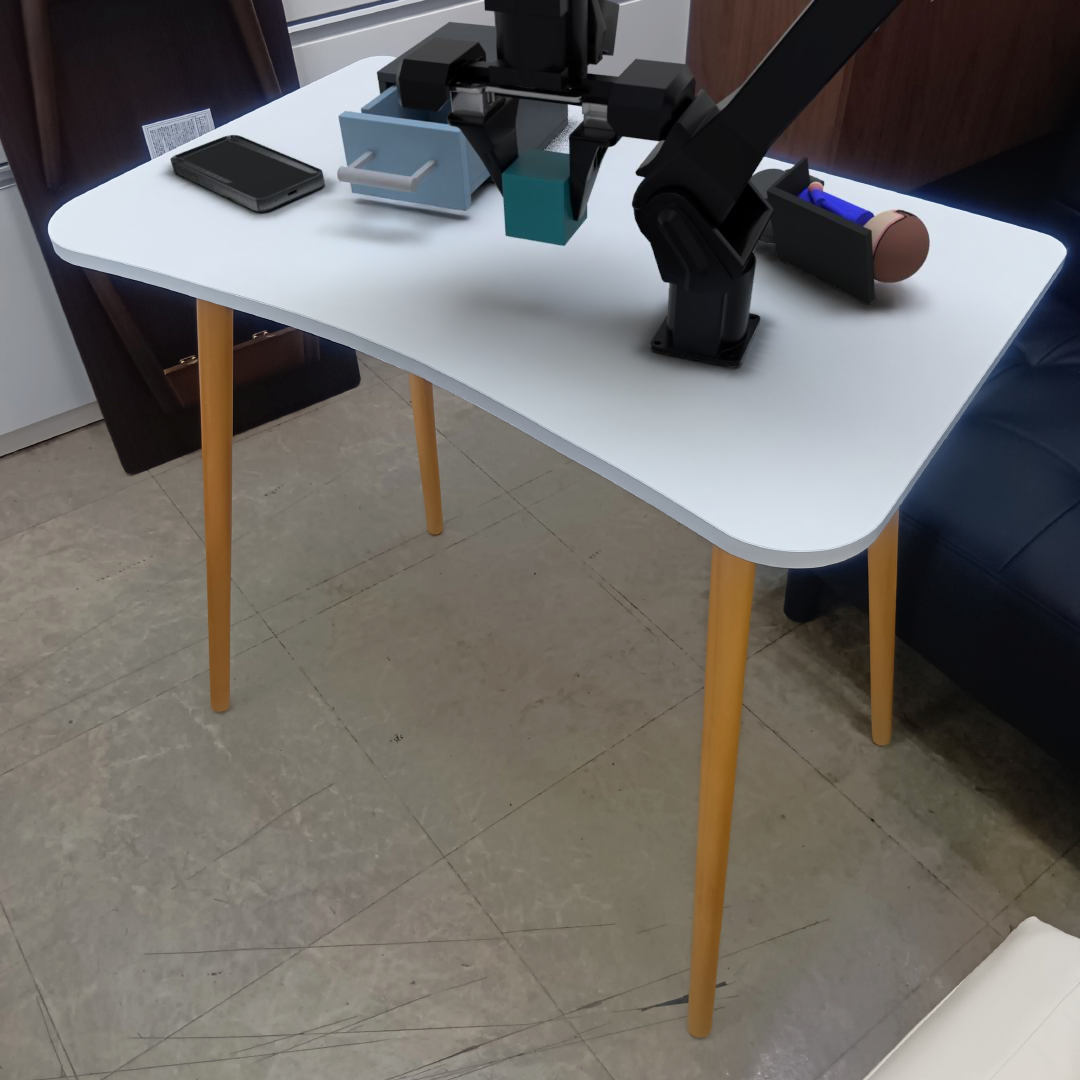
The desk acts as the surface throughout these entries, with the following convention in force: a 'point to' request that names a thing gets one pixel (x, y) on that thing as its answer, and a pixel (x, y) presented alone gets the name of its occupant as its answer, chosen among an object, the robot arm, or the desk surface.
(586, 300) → the desk surface
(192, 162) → the phone
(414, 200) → the light blue drawer
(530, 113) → the drawer cabinet
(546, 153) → the teal cube
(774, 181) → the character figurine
